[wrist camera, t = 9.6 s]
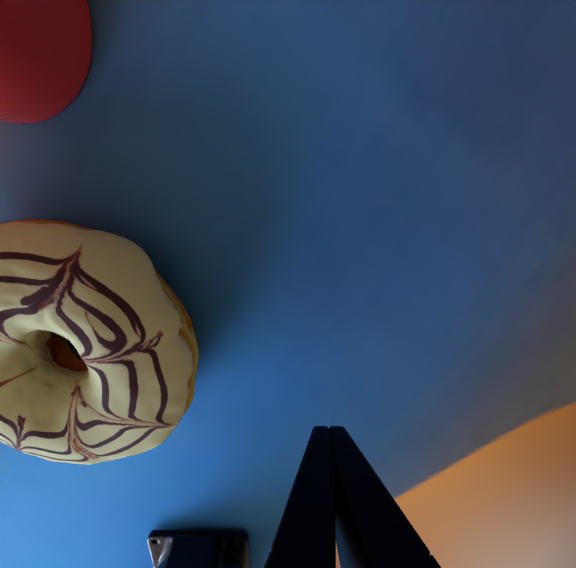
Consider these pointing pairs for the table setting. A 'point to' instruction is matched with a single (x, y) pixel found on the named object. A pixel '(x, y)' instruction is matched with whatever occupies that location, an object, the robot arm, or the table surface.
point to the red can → (42, 57)
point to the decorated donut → (88, 345)
